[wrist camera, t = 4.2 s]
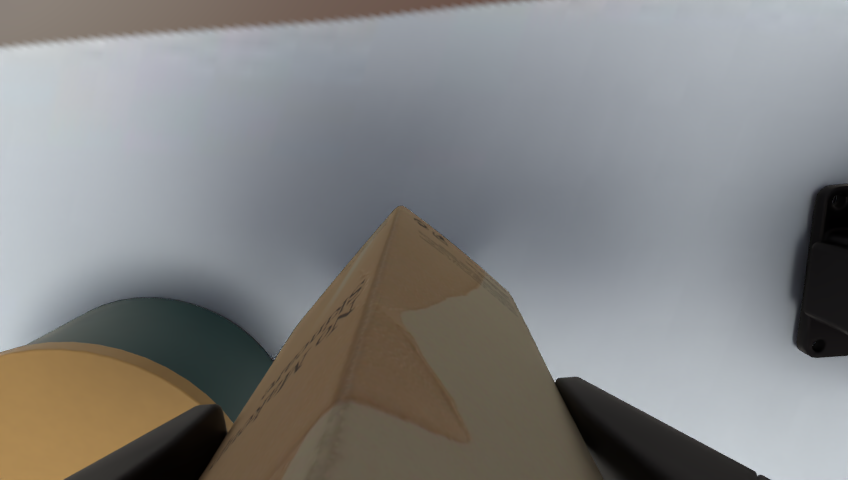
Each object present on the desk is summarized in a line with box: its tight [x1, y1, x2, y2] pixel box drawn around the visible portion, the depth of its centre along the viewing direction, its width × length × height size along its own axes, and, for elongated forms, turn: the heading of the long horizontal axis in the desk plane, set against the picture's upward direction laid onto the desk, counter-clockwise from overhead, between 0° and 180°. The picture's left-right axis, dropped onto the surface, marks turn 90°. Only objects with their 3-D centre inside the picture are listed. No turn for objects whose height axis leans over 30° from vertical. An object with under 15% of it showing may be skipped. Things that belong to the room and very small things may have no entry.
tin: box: [0, 298, 273, 480], centre depth 15 cm, size 10×10×4 cm
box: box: [198, 206, 604, 480], centre depth 7 cm, size 5×4×11 cm
